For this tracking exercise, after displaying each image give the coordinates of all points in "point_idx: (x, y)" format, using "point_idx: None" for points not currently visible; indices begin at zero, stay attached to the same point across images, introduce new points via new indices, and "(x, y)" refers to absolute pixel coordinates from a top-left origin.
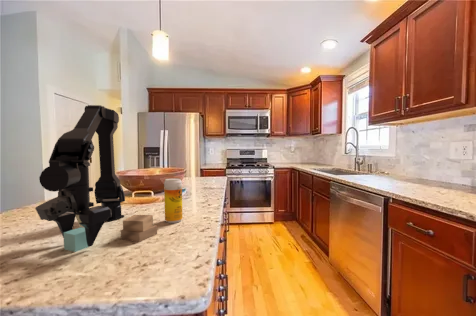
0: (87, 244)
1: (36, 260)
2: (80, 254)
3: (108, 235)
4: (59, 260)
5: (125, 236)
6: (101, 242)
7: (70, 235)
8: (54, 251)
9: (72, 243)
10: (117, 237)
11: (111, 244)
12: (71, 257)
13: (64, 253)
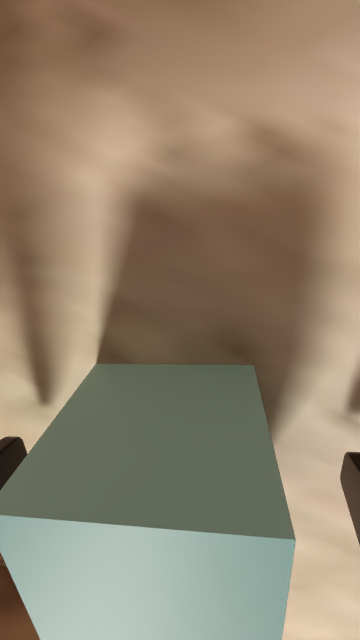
0: (3, 447)
1: (237, 72)
2: (13, 351)
3: None
4: (22, 205)
5: (15, 595)
6: None
7: (98, 497)
8: (294, 302)
9: (102, 411)
10: None
11: None
12: (7, 289)
13: (150, 313)
